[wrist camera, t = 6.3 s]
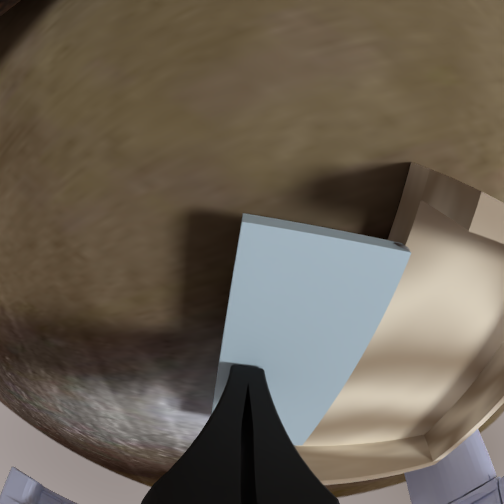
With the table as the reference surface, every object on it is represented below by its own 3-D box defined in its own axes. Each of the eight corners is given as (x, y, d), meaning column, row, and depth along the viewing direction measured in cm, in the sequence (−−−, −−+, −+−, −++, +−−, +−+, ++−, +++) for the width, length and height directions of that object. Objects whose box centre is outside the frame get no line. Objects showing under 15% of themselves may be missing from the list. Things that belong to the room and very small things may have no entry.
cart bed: (421, 427, 19) (434, 464, 15) (290, 436, 18) (293, 486, 14) (547, 229, 10) (590, 261, 6) (411, 161, 10) (481, 191, 6)
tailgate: (303, 445, 15) (208, 439, 15) (302, 435, 16) (209, 429, 15) (413, 253, 9) (242, 221, 9) (403, 243, 10) (242, 213, 9)
